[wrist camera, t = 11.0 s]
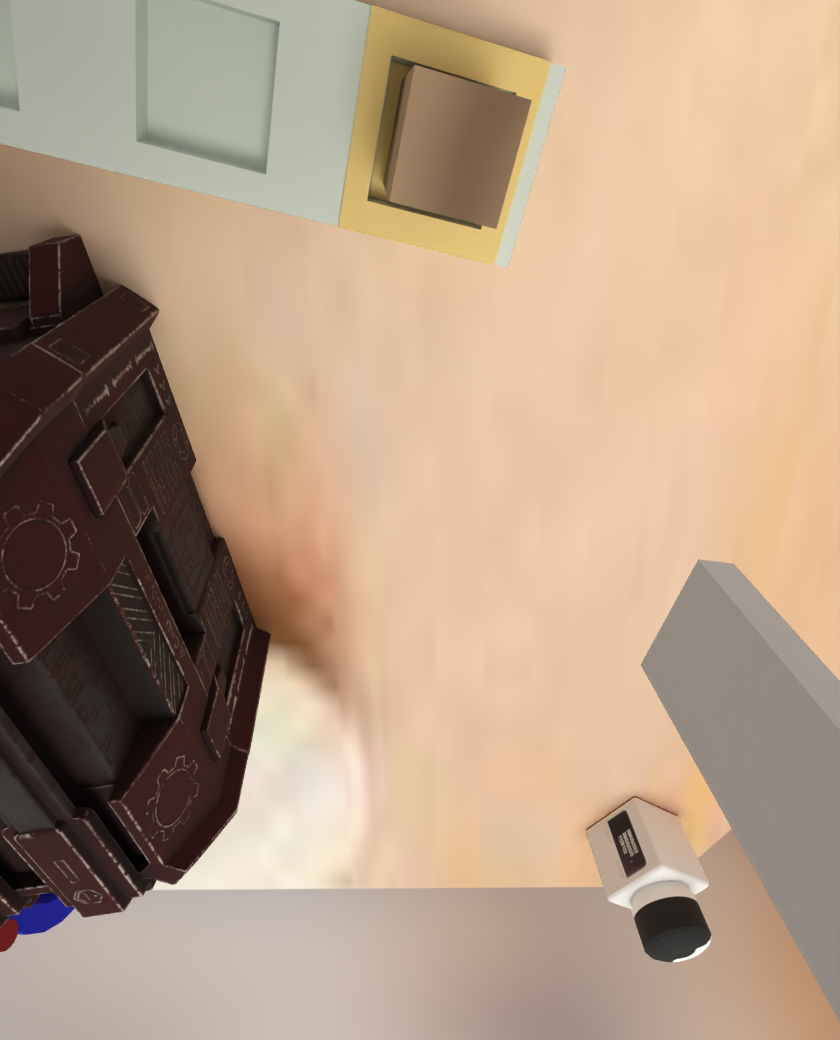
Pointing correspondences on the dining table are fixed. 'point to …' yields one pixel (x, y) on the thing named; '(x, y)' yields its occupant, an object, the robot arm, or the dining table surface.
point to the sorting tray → (257, 103)
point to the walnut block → (453, 146)
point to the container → (653, 878)
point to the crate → (107, 605)
